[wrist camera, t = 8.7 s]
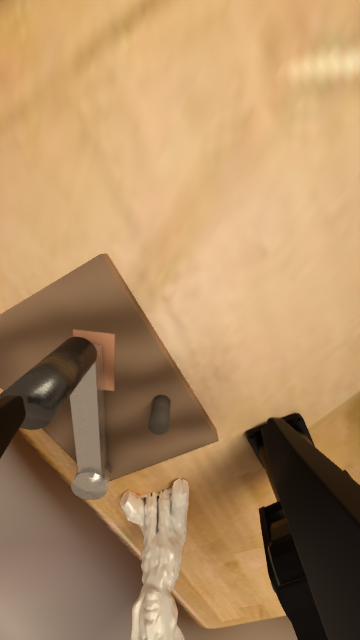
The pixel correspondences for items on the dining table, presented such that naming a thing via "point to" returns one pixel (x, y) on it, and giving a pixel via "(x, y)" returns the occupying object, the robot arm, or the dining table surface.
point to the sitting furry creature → (158, 558)
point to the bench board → (108, 367)
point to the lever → (86, 407)
